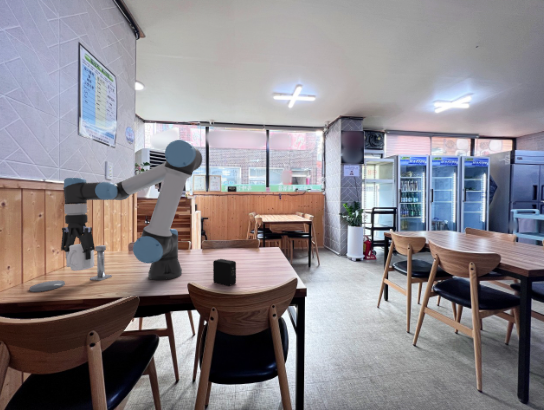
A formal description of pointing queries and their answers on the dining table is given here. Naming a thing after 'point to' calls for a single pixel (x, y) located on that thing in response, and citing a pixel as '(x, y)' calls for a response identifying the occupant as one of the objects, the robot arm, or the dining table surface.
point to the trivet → (47, 286)
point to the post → (100, 267)
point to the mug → (78, 258)
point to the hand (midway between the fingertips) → (78, 266)
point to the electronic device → (224, 272)
